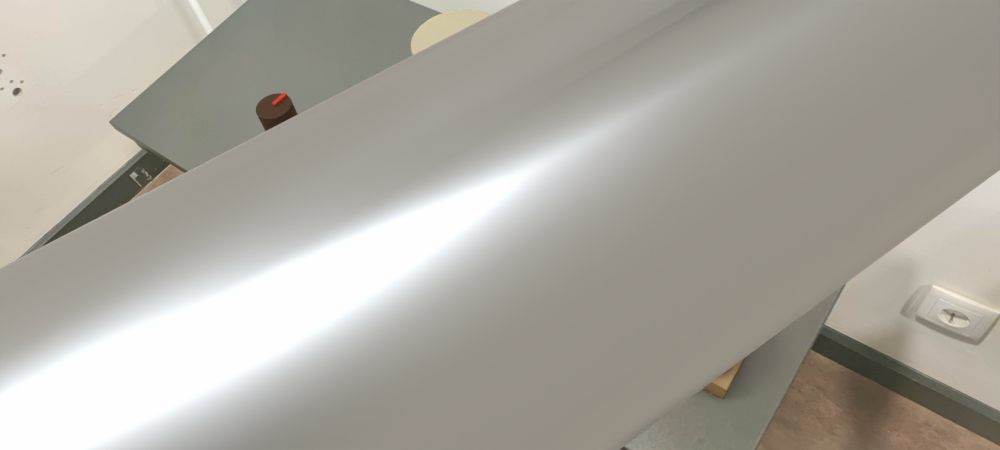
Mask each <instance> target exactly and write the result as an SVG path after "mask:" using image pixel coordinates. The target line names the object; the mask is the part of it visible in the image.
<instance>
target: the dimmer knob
mask: <svg viewBox="0 0 1000 450" xmlns="http://www.w3.org/2000/svg"><path fill="white" fill-rule="evenodd" d="M255 113H256V116H257V119H258V120H259V121H260V124H261V125H262V128H263V129H264V132H265V131H267V130H269V129H271V128H273V127H275V126H277V125H279V124H281V123H283V122H284V121H286V120H288V119H290V118H292V117H294V116H296V115H298V114H299V113H298V112H297V109H296V108H295V105H294V103H293V101H292V98H291V97H290V96H289V95H288V94H287V93H286V92H282V93H279V92H278V93H272V94H269V95H266V96H264V97H263V98H261V99H260V101H258V103H257V104H256V107H255Z"/></svg>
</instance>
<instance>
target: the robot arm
mask: <svg viewBox="0 0 1000 450" xmlns="http://www.w3.org/2000/svg"><path fill="white" fill-rule="evenodd" d="M297 114H298V115H296V116H294V117H292V118H290V119H288V120H286V121H284V122H283V123H281V124H279V125H277V126H275V127H273V128H271V129H269V130H267V131H265V130H264V131H263V132H261V133H259V134H257V135H256V136H253V137H252V138H249V139H248V140H245V141H244V142H242V143H240V144H238V145H236V146H234V147H232V148H230V149H228V150H227V151H225V152H223V153H221V154H218V155H217V156H215V157H213V158H211V159H209V160H206V161H205V162H203V163H202V164H200V165H198V166H196V167H194V168H192V169H189V170H187V171H186V172H184V173H182V174H180V175H178V176H176V177H174V178H172V179H170V180H167V182H165V183H162V184H161V185H158V186H157V187H155V188H152V189H151V190H149V191H147V192H145V193H143V194H141V195H139V196H137V197H135V198H134V199H132V200H129V201H128V202H126V203H124V204H122V205H120V206H118V207H116V208H114V209H112V210H110V211H109V212H106V213H104V214H102V215H100V216H98V217H97V218H95V219H93V220H91V221H88V222H87V223H85V224H83V225H81V226H79V227H77V228H76V229H74V230H71V231H70V232H68V233H65V234H64V235H62V236H60V237H58V238H56V239H54V240H51V241H50V242H48V243H46V244H45V245H43V246H40V247H38V248H37V249H35V250H33V251H31V252H29V253H27V254H25V255H23V256H21V257H19V258H17V259H15V260H13V261H12V262H10V263H8V264H6V265H4V266H1V267H0V450H622V448H624V447H626V446H627V445H628V444H629V443H631V442H633V440H635V439H636V438H637V437H639V436H640V435H641V434H643V433H644V432H646V431H647V430H648V429H650V428H651V427H652V426H654V425H655V424H657V423H658V422H659V421H661V420H662V419H663V418H665V417H666V416H667V415H669V414H670V413H672V412H673V411H675V410H676V409H678V408H679V407H680V406H681V405H683V404H684V403H685V402H687V401H688V400H689V399H691V398H692V397H694V396H695V395H696V394H698V393H699V392H700V391H702V390H703V389H704V387H706V386H707V385H708V384H710V383H711V382H712V381H714V380H715V379H716V378H718V377H719V376H720V375H722V374H723V373H725V372H726V371H727V370H729V369H730V368H731V367H733V366H734V365H735V364H737V363H738V362H740V361H741V360H742V359H744V358H745V357H746V358H747V357H748V356H749V355H751V354H752V353H753V352H754V351H756V350H757V349H759V348H760V347H761V346H763V345H764V344H765V343H767V342H768V341H769V340H771V339H772V338H774V337H775V336H777V335H778V334H779V333H780V332H782V331H783V330H785V329H786V328H787V327H789V326H790V325H791V324H793V323H795V321H797V320H798V319H800V318H801V317H803V316H804V315H805V314H806V313H808V312H809V311H811V310H812V309H814V307H816V306H817V305H818V304H820V303H821V302H822V301H824V300H826V299H827V298H828V297H830V296H831V295H832V294H833V293H835V292H836V291H837V290H839V289H840V288H842V287H843V286H845V285H846V284H847V283H848V282H850V281H851V280H853V279H854V278H855V277H857V276H858V275H859V274H860V273H862V272H863V271H865V270H866V269H868V268H869V267H870V266H871V265H873V264H874V263H876V262H877V261H878V260H880V259H881V258H883V257H884V256H885V255H887V254H888V253H890V252H891V251H892V250H894V249H895V248H896V247H897V246H899V245H900V244H901V243H903V242H904V241H906V240H907V239H908V238H909V237H911V236H913V235H914V234H915V233H916V232H918V231H919V230H920V229H922V228H923V227H925V226H926V225H927V224H929V223H930V222H931V221H933V220H934V219H936V218H937V217H938V216H940V215H941V214H942V213H944V212H945V211H947V210H948V209H949V208H950V207H952V206H953V205H955V204H956V203H957V202H959V201H960V200H961V199H963V198H964V197H965V196H967V195H968V194H970V193H971V192H972V191H973V190H975V189H976V188H978V187H979V186H980V185H981V184H983V183H985V182H986V181H988V179H990V178H991V177H992V176H994V175H996V174H997V173H998V172H1000V0H516V1H515V2H513V3H511V4H509V5H507V6H505V7H503V8H501V9H499V10H498V11H495V12H494V13H492V14H490V16H488V17H486V18H484V19H482V20H480V21H478V22H476V23H474V24H472V25H470V26H468V27H467V28H465V29H463V30H461V31H459V32H457V33H455V34H453V35H451V36H449V37H447V38H445V39H443V40H441V41H439V42H437V43H436V44H434V45H432V46H430V47H428V48H426V49H424V50H422V51H420V52H418V53H416V54H414V55H412V54H411V55H410V56H408V57H406V58H405V59H403V60H401V61H398V62H397V63H395V64H393V65H391V66H389V67H387V68H385V69H383V70H381V71H380V72H378V73H377V72H376V74H373V75H371V76H370V77H368V78H366V79H364V80H362V81H360V82H358V83H356V84H354V85H353V86H349V87H348V88H347V89H344V90H343V91H340V92H339V93H336V94H335V95H333V96H331V97H328V98H327V99H325V100H323V101H321V102H319V103H317V104H316V105H313V106H312V107H310V108H308V109H306V110H304V111H302V112H300V113H297ZM746 358H745V359H746Z"/></svg>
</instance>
